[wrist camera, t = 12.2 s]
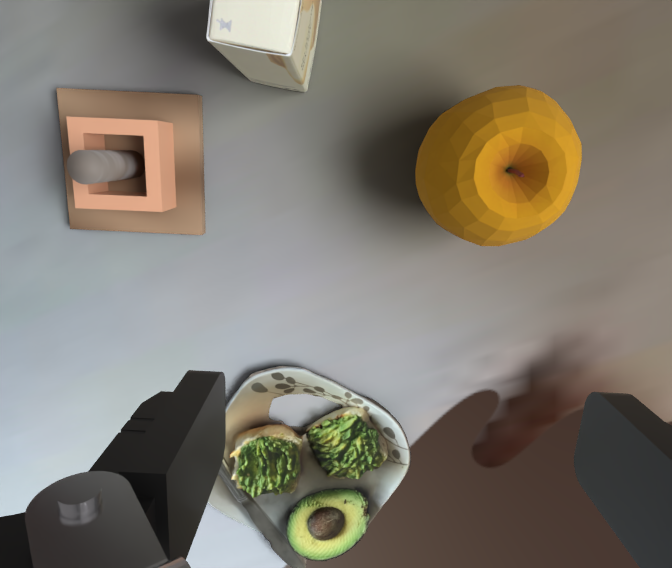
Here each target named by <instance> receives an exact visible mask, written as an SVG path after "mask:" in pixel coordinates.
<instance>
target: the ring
mask: <svg viewBox="0 0 672 568" xmlns="http://www.w3.org/2000/svg"><path fill="white" fill-rule="evenodd" d="M66 118H67V128H68V138H69V149H70V155H71V154H72V153H73V152H75V151H77V150H105V140H104V134H105V135H127V136H143V137H144V154H145V171H146V189H147V192H127V191H108V182H102V183H94V184H80V183H78V182H76V181H75V180H73V179H72V180H73V190H74V200H75V208H83V209H106V210H128V211H150V212H164V211H167V210H170V209H173V208H175V207H176V187H175V164H174V140H173V123H169V122H163V121H156V120H134V119H112V118H90V117H68V116H66Z"/></svg>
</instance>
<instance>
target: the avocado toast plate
mask: <svg viewBox="0 0 672 568" xmlns="http://www.w3.org/2000/svg"><path fill="white" fill-rule="evenodd" d="M288 394H310V395H313V396H320V397H323V398H325V399H327V400H330V401H332V402H335V403H337V404H339V405H341V406H342V408H341V409H339V410H337V411H333V412H331V413H330V414H328V415H325V416H323V417H322V418H320V419H319V420H317V421H316V422H314V423H313V424H309V425H307V426H306V427H295V426H288V425H285V424H284V423H283V421H277V420H271V419H270V418H269V408H270V405H271V402H272V400H273V398H277V397H280V396H283V395H288ZM410 462H411V452H410V448H409V444H408V440H407V437H406V435H405V433H404V431H403V429H402V427H401V425H400V423H399V422H398V421H397V420H396V418H395V417H394V416H392V415H391V414H390V412H389V411H388V410H386V409H385V408H384V407H383V406H381V405H380V404H379V403H377V402H376V401H374V400H372V399H370V398H366V397H363V396H360V395H358V394H356V393H354V392H353V391H351V390H349V389H347V388H345V387H344V386H342V385H340V384H338V383H337V382H335V381H333V380H331V379H328V378H325V377H323V376H321V375H318V374H315V373H313V372H311V371H309V370H307V369H305V368H302V367H290V366H278V367H274V368H268V369H265V370H262V371H257V372H254V373H252V374H251V375H250V376H249V377H248V378H247V379H246V380H245V381H244V382H243V383H242V385H241V386H240V388H239V389H238V391H236V392H235V394H234V395H233V396H232V398H231V399H230V400H229V402H228V404H227V406H226V441H225V451H224V456H223V461H222V465H221V468H220V470H219V473H218V476H217V478H216V481H215V484H214V486H213V489H212V491H211V494H210V497H209V499H208V503H209V504H210V505H211V506H212V507H213V508H214V509H216V510H218V511H219V512H221V513H222V514H224V515H225V516H227V517H229V518H231V519H233V520H235V521H237V522H239V523H242V524H243V525H245V526H247V527H249V528H251V529H253V530H255V531H258V532H260V533H262V534H263V535H264V536H265V538H266V539H268V540H269V541H270V543H271V547H272V548H273V550H274V551H275V552H276V553H277V554H278V555H279V557H281V559H282V560H283V561H284V562H286V563H287V564H288V565H289V566H290V567H292V568H305V566H306V559H309V560H315V561H327V560H329V559H332V558H336V557H338V556H340V555H343V554H344V553H346V552H347V551H349V550H350V549H351V548H352V547H354V546H355V545H356V544H357V543H358V542H359V541H360V539H361V538H362V537H363V535H364V534H365V532H366V531H367V529H368V525H369V524H370V522H371V521H372V520H373V518H374V517H375V516H376V514H377V513H378V511H379V510H380V509H381V508H382V506H383V504H384V503H385V502H386V501H387V500H388V499H389V498H390V496H391V494H392V493H393V492H394V491H395V489H396V488H397V487H398V485H399V484H400V482H401V481H402V479H403V478H404V476H405V475H406V473H407V472H408V470H409V468H410Z"/></svg>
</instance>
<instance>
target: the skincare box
mask: <svg viewBox="0 0 672 568" xmlns="http://www.w3.org/2000/svg"><path fill="white" fill-rule="evenodd" d="M321 3H322V2H321V0H210V7H209V16H208V27H207V35H206V39H207V40H208V42H210V43H211V44H212V45H213V46H214V47H215V48H216V49H217V50H218V51H219V52H220V53H221V54H222V55H224V56H225V57H226V58H227V59H228V60H229V61H230V62H231V63H232V64H233V65H234V66H235V67H236V68H237V69H239V70H240V71H241V72H242V73H243V74H244V75H245V76H246V77H247V78H248V79H249V80H250V81H252V82H256V83H260V84H264V85H269V86H273V87H278V88H283V89H288V90H293V91H300V92H306V91H307V89H308V85H309V80H310V75H311V70H312V65H313V59H314V53H315V48H316V41H317V34H318V26H319V19H320V11H321Z"/></svg>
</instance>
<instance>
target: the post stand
mask: <svg viewBox="0 0 672 568" xmlns="http://www.w3.org/2000/svg"><path fill="white" fill-rule="evenodd" d="M56 89H57V99H58V109H59V120H60V130H61V140H62V150H63V160H64V171H65V181H66V191H67V201H68V211H69V221H70V229H85V230H107V231H128V232H149V233H171V234H192V235H203V234H204V233H205V196H204V155H203V115H202V96H200V95H191V94H170V93H150V92H129V91H108V90H88V89H67V88H56ZM66 116H68V117H90V118H112V119H134V120H156V121H163V122H169V123H173V140H174V164H175V187H176V207H175V208H173V209H170V210H167V211H164V212H150V211H128V210H106V209H83V208H75V200H74V190H73V180H75V181H76V182H78V183H80V184H94V183H102V182H108V191H127V192H147V189H146V171H145V154H144V137H143V136H127V135H105V134H104V140H105V150H77V151H75V152H73V153H72V154H71V155H70V149H69V138H68V128H67V118H66ZM72 179H73V180H72Z"/></svg>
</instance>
